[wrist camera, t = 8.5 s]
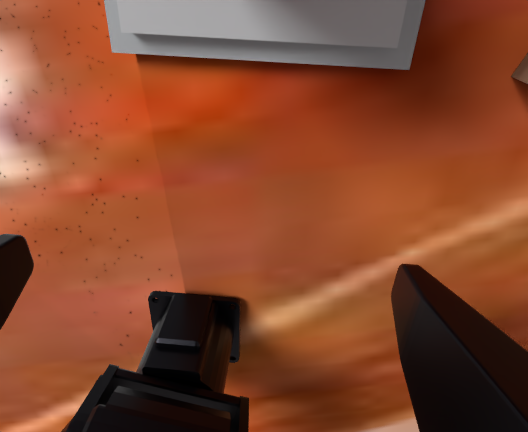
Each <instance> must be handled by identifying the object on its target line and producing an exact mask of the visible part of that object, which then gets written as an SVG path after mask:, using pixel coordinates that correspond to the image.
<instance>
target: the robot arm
mask: <svg viewBox="0 0 528 432" xmlns="http://www.w3.org/2000/svg"><path fill="white" fill-rule="evenodd" d="M33 267H34V262H33V259H32V256H31V253H30V250H29V247H28V244H27V241H26V239H25V238H24V237H23V236H21V235H14V234H3V235H0V330H1V328H2V326H3V325H4V323H5V321H6V320H7V318H8V316H9V314H10V312H11V311H12V309H13V307H14V305H15V303H16V301H17V299H18V298H19V296H20V294H21V292H22V290H23V288H24V287H25V285H26V283H27V281H28V279H29V277H30V275H31V274H32V271H33ZM156 298H157V299H156ZM148 301H149V308H150V314H151V320H152V327H153V333H152V336H151V338H150V340H149V343H148V345H147V348H146V350H145V352H144V355H143V357H142V360H141V362H140V364H139V367H138V369H137V372H133V371H129V370H125V369H121V368H119V366H115V365H111V364H110V365H109V366H108V368H107V369H106V371H105V373H104V374H103V375H100V377H99V378H98V380H97V381H96V383H95V385H94V386H93V388H92V389H91V391H90V392H89V394H88V396H87V397H86V399H85V400H84V402H83V403H82V405H81V407H80V408H79V410H78V411H77V413H76V414H75V416H74V417H73V418H72V420H71V421H70V422H69V423H68V424H67V425H66V427H65V428H64V429H63V430H62V431H61V432H248V422H249V398H247V397H243V396H240V397H236V396H232V395H228V394H224V388H225V382H226V376H227V371H228V365H229V362H231V363H235V362H237V361H239V356H240V301H239V300H238V299H237V298H232V297H220V296H209V295H197V294H185V293H173V292H162V291H153V292H151V293H150V295H149V298H148ZM391 301H392V308H393V315H394V321H395V328H396V335H397V342H398V349H399V355H400V360H401V364H402V368H403V372H404V376H405V380H406V383H407V387H408V391H409V394H410V398H411V402H412V405H413V409H414V413H415V417H416V420H417V424H418V428H419V431H420V432H528V351H527V350H526V349H524V348H523V347H522V346H520V345H519V344H518V343H517V342H515V341H514V340H513V339H512V338H510V337H509V336H508V335H507V334H505V333H504V332H503V331H502V330H500V329H499V328H498V327H496V326H495V325H494V324H493V323H491V322H490V321H489V320H488V319H486V318H485V317H484V316H483V315H481V314H480V313H479V312H477V311H476V310H475V309H474V308H472V307H471V306H470V305H469V304H467V303H466V302H465V301H464V300H462V299H461V298H460V297H459V296H457V295H456V294H455V293H453V292H452V291H451V290H450V289H448V288H447V287H446V286H445V285H443V284H442V283H441V282H440V281H438V280H437V279H436V278H435V277H433V276H432V275H431V274H429V273H428V272H427V271H426V270H424V269H423V268H422V267H420V266H419V265H412V264H401V265H400V266H399V268H398V271H397V274H396V278H395V281H394V285H393V288H392V293H391ZM231 304H234V305H231Z"/></svg>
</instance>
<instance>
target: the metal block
mask: <svg viewBox="0 0 528 432" xmlns="http://www.w3.org/2000/svg"><path fill="white" fill-rule="evenodd" d="M511 77H513V78H515V79H517V80H519V81H522V82H524V83H526V84H528V53H527V55H526V56H525V58H524V59H523V60H522V62H521V63H520V65H519V66H518V67H517V69H516V70H515V72H514V73H513V74H512V76H511Z"/></svg>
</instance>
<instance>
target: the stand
mask: <svg viewBox="0 0 528 432" xmlns="http://www.w3.org/2000/svg"><path fill="white" fill-rule="evenodd" d="M104 3H105V9H106V16H107V22H108V29H109V35H110V42H111V48H112V52H115V53H131V54H148V55H165V56H182V57H199V58H216V59H233V60H250V61H266V62H283V63H300V64H317V65H334V66H351V67H368V68H384V69H401V70H409V69H410V65H411V61H412V56H413V52H414V48H415V43H416V39H417V35H418V31H419V26H420V22H421V18H422V13H423V9H424V5H425V0H104Z"/></svg>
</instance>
